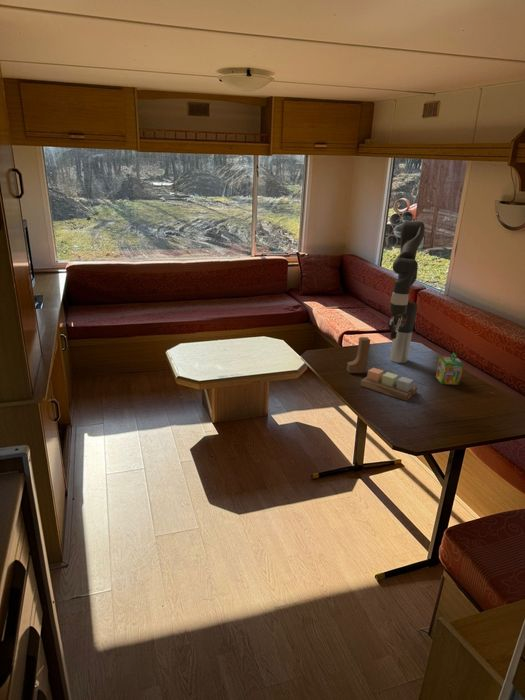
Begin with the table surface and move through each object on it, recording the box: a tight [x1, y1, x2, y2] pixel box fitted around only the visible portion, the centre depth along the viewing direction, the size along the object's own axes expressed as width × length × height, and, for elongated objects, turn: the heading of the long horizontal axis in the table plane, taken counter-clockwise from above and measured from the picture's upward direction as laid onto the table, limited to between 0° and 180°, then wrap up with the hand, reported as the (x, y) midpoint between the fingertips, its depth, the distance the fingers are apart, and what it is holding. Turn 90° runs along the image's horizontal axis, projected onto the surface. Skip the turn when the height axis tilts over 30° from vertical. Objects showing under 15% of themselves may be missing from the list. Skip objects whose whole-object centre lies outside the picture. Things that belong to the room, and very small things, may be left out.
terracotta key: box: [366, 367, 384, 383], centre depth 238 cm, size 6×6×5 cm
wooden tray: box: [360, 376, 418, 402], centre depth 235 cm, size 12×23×3 cm, turn 52°
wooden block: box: [346, 336, 371, 374], centre depth 251 cm, size 9×4×18 cm, turn 97°
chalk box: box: [434, 352, 464, 386], centre depth 246 cm, size 9×9×15 cm
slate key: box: [396, 376, 414, 392], centre depth 230 cm, size 6×6×5 cm
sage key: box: [381, 371, 399, 387], centre depth 234 cm, size 6×6×5 cm
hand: (393, 338), depth 232 cm, fingers closed
